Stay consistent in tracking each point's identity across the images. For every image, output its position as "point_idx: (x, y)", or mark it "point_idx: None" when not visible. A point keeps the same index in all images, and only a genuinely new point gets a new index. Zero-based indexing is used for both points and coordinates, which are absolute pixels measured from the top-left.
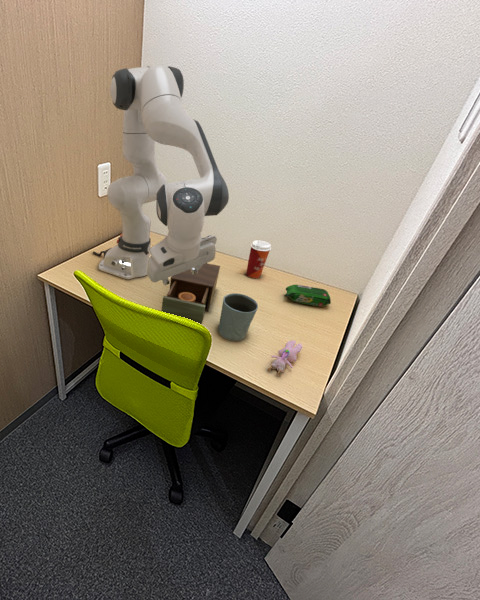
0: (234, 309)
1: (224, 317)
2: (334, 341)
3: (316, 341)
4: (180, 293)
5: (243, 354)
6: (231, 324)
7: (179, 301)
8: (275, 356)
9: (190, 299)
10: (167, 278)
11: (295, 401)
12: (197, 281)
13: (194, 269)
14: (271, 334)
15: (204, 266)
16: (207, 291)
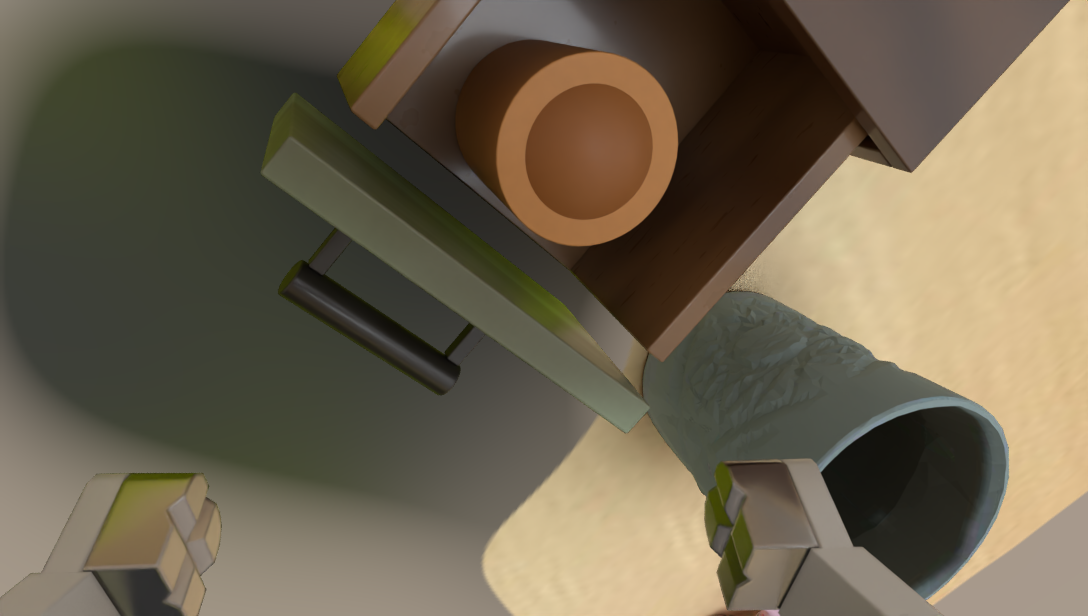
0: None
1: (712, 471)
2: (1063, 502)
3: (1008, 494)
4: (555, 64)
5: (653, 536)
6: None
7: (435, 298)
8: (766, 610)
9: (594, 218)
10: (163, 592)
11: None
12: (844, 4)
13: (777, 585)
14: None
15: None
16: (815, 189)
